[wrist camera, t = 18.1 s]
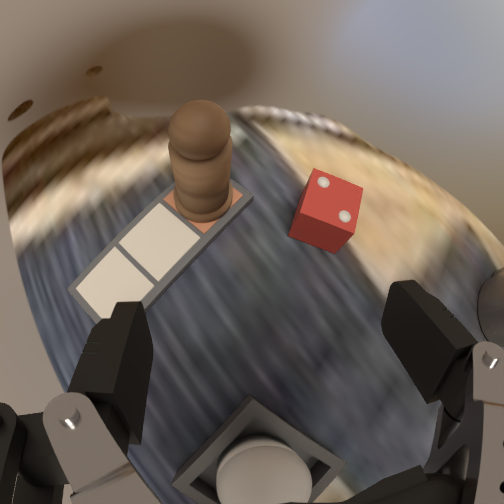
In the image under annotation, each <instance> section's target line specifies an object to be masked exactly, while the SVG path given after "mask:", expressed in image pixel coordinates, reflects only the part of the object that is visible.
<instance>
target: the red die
mask: <svg viewBox="0 0 504 504" xmlns="http://www.w3.org/2000/svg"><path fill="white" fill-rule="evenodd" d="M362 192H363V188H362V187H359V186H357V185H355V184H352V183H350V182H347V181H345V180H342V179H340V178H338V177H335V176H333V175H330V174H328V173H325V172H323V171H320V170H317V169H315V168H314V169H313V171H312V173H311V175H310V177H309V179H308V182H307V184H306V186H305V188H304V190H303V192H302V195H301V197H300V200H299V203H298V207H297V210H296V213H295V216H294V219H293V222H292V225H291V228H290V231H289V234H288V236H289V237H292V238H294V239H297V240H300V241H302V242H305V243H308V244H310V245H313V246H316V247H318V248H321V249H324V250H326V251H329V252H331V253H334V254H335V253H336V252H337V251H338V250H339V249H340V248H341V247H342V246H343V245H344V244H345V243H346V242H347V241H348V240H349V239H350V238H351V237H352V235H353V234H354V233H355V228H356V223H357V218H358V213H359V208H360V203H361V198H362Z"/></svg>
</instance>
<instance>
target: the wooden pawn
mask: <svg viewBox="0 0 504 504" xmlns="http://www.w3.org/2000/svg"><path fill="white" fill-rule="evenodd" d="M168 132H169V139H170V141H169V145H168V149H169V155H170V160H171V165H172V170H173V175H174V180H175V187H174V193H173V194H174V201H175V205H176V208H177V210H178V211H179V213H180V214H181V215H182V216H183V217H184V218H186V219H188V220H189V221H192V222H196V223H210V222H213V221H216V220H218V219H220V218H221V217H223V216H224V215H225V214H226V213H227V212H228V210H229V209H230V207H231V204H232V199H233V187H232V184H231V182H230V168H231V155H232V139H231V136H230V132H231V127H230V121H229V118H228V116H227V114H226V113H225V111H224V110H223V109H222V108H221V107H220V106H218V105H217V104H215V103H213V102H211V101H206V100H195V101H190V102H188V103H186V104H184V105H182V106H181V107H180V108H179V109H177V111H176V112H175V113H174V114H173V116H172V118H171V120H170V123H169V129H168Z"/></svg>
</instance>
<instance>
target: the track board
mask: <svg viewBox="0 0 504 504" xmlns="http://www.w3.org/2000/svg"><path fill="white" fill-rule="evenodd" d="M230 182H231V184H232V187H233V188H235V189H236V190H237V191H239V192H240V193H241V194H242V195H243V196H242V197H241V198H240V199H239V200H238V201H237V202H236V203H235V204H234V205H233V206H232V207H231V208H230V209H229V210H228V212H227V213H226V214H225V215H224V216H223V217H221V218H220V219H219V220H218V221H217V222H216V223H215V224H214V225H213V226H212V227H211V228H210V229H209V230H208V231H207V232H206V233H205V234H203V233H202V232H201V231H199V230H198V229H197V228H196V227H195V226H193V225H192V224H191V223H190V222H189V221H187V220H186V219H185V218H184V217H183V216H182V215H180V214H179V213H178V212H177V211H176V210H174V209H173V208H172V207H171V206H170V205H168V204H167V203H166V202H165V201H164V200H163V199H164V198H165V197H166V196H167V195H168V194H169V193H170V192H172V191H173V190H174V187H175V181H174V182H173V183H172V184H171V185H170V186H169V187H168V188H167V189H165V190H164V191H163V192H162V193H161V194H160V195H159V196H158V197H157V198H156V199H155V200H153V201H152V202H151V203H150V204H149V205H148V206H147V207H146V208H145V209H144V210H143V211H142V212H141V213H140V214H139V215H138V216H137V217H136V218H135V219H133V220H132V221H131V222H130V223H129V224H128V225H127V226H126V227H125V228H124V229H123V230H122V231H121V232H120V233H119V234H118V235H117V236H116V237H115V238H114V239H113V240H112V241H111V242H110V243H109V244H108V245H107V247H106V248H105V249H104V250H103V251H102V252H101V253H100V254H99V255H98V256H97V257H96V258H95V259H94V260H93V261H92V262H91V263H90V264H89V265H88V267H87V268H86V269H85V270H84V271H83V272H82V273H81V274H80V275H79V276H78V278H77V279H76V280H75V281H74V282H73V283H72V284H71V285H70V287H69V288H68V289H67V290H68V291H69V292H70V293H71V295H72V296H73V297H74V298H75V300H76V301H77V302H78V303H79V304H80V306H81V307H82V308H83V309H84V310H85V311H86V313H87V314H88V315H89V316H90V317H91V318H92V319H93V321H94V322H95V323H96V324H97V323H98V322H99V321H100V320H101V319H102V318H110V317H111V314H112V312H113V309H114V307H115V305H116V303H117V302H127V301H141V302H142V304H143V307H144V311H145V313H146V312H147V311H148V310H149V309H150V308H151V307H152V305H153V304H154V303H155V302H156V301H157V300H158V299H159V298H160V297H161V296H162V295H163V293H164V292H165V291H166V290H167V289H168V288H169V287H170V286H171V285H172V284H173V283H174V282H175V281H176V280H177V278H178V277H179V276H180V275H181V274H182V273H183V272H184V271H185V270H186V269H187V268H188V267H189V266H190V265H191V264H192V263H193V262H194V260H195V259H196V258H197V257H198V256H199V255H200V254H201V253H202V252H203V251H204V250H205V249H206V248H207V247H208V246H209V245H210V244H211V243H212V242H213V241H214V240H215V239H216V238H217V237H218V235H219V234H220V233H221V232H222V231H223V230H224V229H225V228H226V227H227V226H228V225H229V224H230V223H231V222H232V221H233V220H234V219H235V218H236V217H237V216H238V215H239V214H240V213H241V212H242V211H243V210H244V209H245V208H246V207H247V206H248V205H249V204H250V203H251V202H252V201H253V197H254V195H252V194H251V193H250V192H248V191H247V190H246V189H244V188H243V187H242V186H240V185H239V184H238V183H236V182H235V181H234V180H232V179H231V178H230Z"/></svg>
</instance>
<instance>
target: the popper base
mask: <svg viewBox="0 0 504 504" xmlns="http://www.w3.org/2000/svg"><path fill="white" fill-rule="evenodd" d="M253 434H266V435H271V436H275V437H277V438H279V439H281V440H283V441H285V442H286V443H287V444H288V445H289V446H290V447H291V448H292V449H293V450H294V451H295V452H296V453H297V454H298V456H299V457H300V458H301V459H302V460H303V461H304V462H305V464H306V465H307V467H308V469H309V471H310V474H311V478H312V491H311V495H310V498H309V500H308V502H307V503H312V502H313V501H314V500H315V499H316V498H317V497H318V496H319V495H320V494H321V493H322V492H323V491H324V490H325V488H326V487H327V486H328V485H329V484H330V483H331V482H332V481H333V479H334V478H335V477H336V476H337V475H338V474H339V472H340V471H341V470H342V469H343V468H344V466H345V465H346V464H347V462H345V461H344V460H342V459H341V458H339V457H338V456H336V455H335V454H334V453H332V452H330V451H329V450H327V449H326V448H324V447H323V446H321V445H320V444H318V443H317V442H315V441H314V440H312V439H311V438H309V437H308V436H306V435H305V434H303V433H302V432H300V431H299V430H297V429H296V428H294V427H293V426H292V425H290V424H289V423H287V422H286V421H284V420H283V419H282V418H280V417H279V416H278V415H276V414H275V413H273V412H272V411H271V410H269V409H268V408H267V407H265V406H264V405H263V404H261V403H260V402H259V401H257V400H256V399H255V398H253V397H252V396H251V395H248V396H247V397H246V398H245V399H244V400H243V401H242V403H241V404H240V405H239V406H238V407H237V408H236V409H235V410H234V412H233V413H232V414H231V415H230V416H229V417H228V418H227V419H226V420H225V422H224V423H223V424H222V425H221V426H220V427H219V428H218V429H217V430H216V431H215V432H214V434H213V435H212V436H211V437H210V438H209V439H208V440H207V441H206V442H205V443H204V444H203V445H202V446H201V447H200V448H199V449H198V450H197V451H196V452H195V453H194V454H193V455H192V456H191V458H190V459H189V460H188V461H187V462H186V463H185V464H184V465H183V466H182V467H181V468H180V469H179V470H178V471H177V472H176V474H175V477H174V479H173V482H172V484H171V485H172V486H174V487H175V488H176V489H178V490H179V491H181V492H182V493H183V494H185V495H186V496H188V497H189V498H191V499H192V500H194V501H195V502H197V503H198V504H221V502H220V500H219V498H218V494H217V487H216V476H217V463H218V459H219V457H220V455H221V453H222V452H223V450H224V449H225V448H226V447H227V446H228V445H229V444H231V443H232V442H233V441H235V440H237V439H239V438H241V437H244V436H247V435H253Z"/></svg>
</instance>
